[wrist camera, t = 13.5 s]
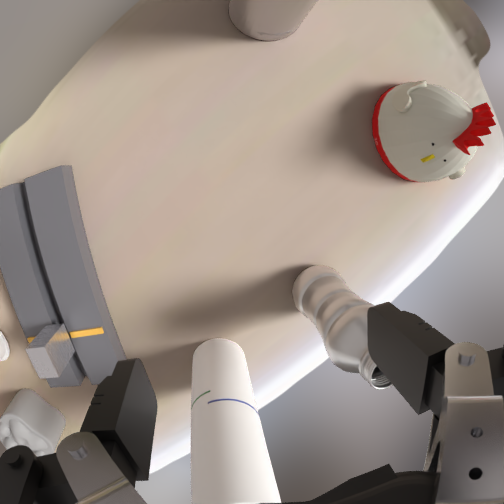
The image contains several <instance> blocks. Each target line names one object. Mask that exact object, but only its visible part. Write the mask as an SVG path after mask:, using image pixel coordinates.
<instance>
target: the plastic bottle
mask: <svg viewBox="0 0 504 504" xmlns="http://www.w3.org/2000/svg"><path fill="white" fill-rule="evenodd" d="M292 295H293V299H294V304H295V306H296V308H297V309H298V310H299V311H300V312H301V313H302V314H303V315H304V316H306V317H307V318H309V319H310V320H311V321H312V322H313V324H314V325H315V326H316V328H317V329H318V331H319V333H320V335H321V337H322V340H323V343H324V345H325V348H326V351H327V353H328V356H329V358H330V360H331V361H332V362H333V364H334V365H336V366H337V367H339V368H340V369H342V370H343V371H346V372H350V373H360V375H361V376H362V377H363V378H364V379H365V380H366V381H368V383H369V384H370V385H371V386H372V387H373V388H375V389H380V390H381V389H386V388H389V387H391V386H393V384H392V383H391V382H390V381H389V379H388V378H387V377H386V376H385V375H384V373H383V372H382V371H381V370H380V369H379V368H378V366H377V365H376V364H375V363H374V362H373V360H372V359H371V357H370V354H369V351H368V336H367V312H368V309H369V308H370V307H373V306H374V305H373V304H371V303H369V302H367V301H365V300H363V299H362V298H360V297H359V296H358V295H356V294H355V293H353V292H352V290H351V289H350V288H349V287H348V286H347V284H346V282H345V280H344V279H343V277H342V276H341V275H340V273H339V272H337V271H336V270H335V269H333V268H330V267H327V266H324V265H315V266H312V267H309V268H307V269H305V270H304V271H303V272H301V273H300V274H299V276H298V277H297V278H296V280H295V282H294V284H293V289H292Z"/></svg>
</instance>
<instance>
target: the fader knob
mask: <svg viewBox="0 0 504 504" xmlns="http://www.w3.org/2000/svg"><path fill="white" fill-rule="evenodd" d="M25 350H26V352H27V354H28V356H29V358H30V360H31V362H32V364H33V366H34V368H35V370H36V372H37V374H38V376H39V378H56V377H60V375H61V373H62V372H63V370H64V368H65V367H66V365H67V363H68V362H69V360H70V359H71V357H72V355H73V354H74V352H75V349H74V347H73V344H72V342H71V340H70V335H69V333H68V330H67V328H66V325H65V323H61V324H55V325H48V326H45V327H44V328H43V329H42V330H41V331H40V333H39V334H38V335H37V336H36V337H35V338H34V339H33V341H32V342H31V343H30V344H29V345H28V346H27V347H26V349H25Z"/></svg>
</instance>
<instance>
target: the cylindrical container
mask: <svg viewBox="0 0 504 504" xmlns="http://www.w3.org/2000/svg"><path fill="white" fill-rule="evenodd" d="M191 497H192V498H191V499H192V500H191V501H192V504H259V503H281V500H280V496H279V492H278V488H277V485H276V481H275V477H274V473H273V469H272V466H271V462H270V458H269V454H268V450H267V446H266V442H265V438H264V434H263V430H262V426H261V422H260V418H259V414H258V410H257V406H256V401H255V397H254V393H253V389H252V385H251V380H250V376H249V372H248V368H247V363H246V359H245V355H244V352H243V350H242V349H241V347H240V346H239V345H238V344H237V343H235V342H233V341H231V340H228V339H224V338H214V339H210V340H207V341H205V342H203V343H202V344H200V345H199V346H198V347H197V349H196V350H195V352H194V354H193V362H192V393H191Z"/></svg>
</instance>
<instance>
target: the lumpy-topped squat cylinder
mask: <svg viewBox="0 0 504 504" xmlns="http://www.w3.org/2000/svg"><path fill="white" fill-rule="evenodd" d="M65 425H66V420H65V417H64V416H63V414H62V413H61V412H60V411H59V410H58V409H56V408H55V407H53V406H51V405H50V404H48V403H47V402H46V401H45V400H44V399H43V398H42V397H41V396H39V395H38V394H37V393H36V392H35V391H33V390H31V389H26V388H25V389H21V390H20V391H19V392H18V393H17V394H16V395H15V397H14V398H13V399H12V401H11V402H10V404H9V405H8V407H7V408H6V410H5V412H4V413H3V415H2V416H1V418H0V440H1V442H2V443H3V445H4V446H5V448H6V449H7V450H8V449H9V448H11V447H14V446H17V445H25V446H27V447H29V448H30V449H31V450H32V451H33V452H34V454H35V455H36V456H37V457H38V456H43V455H48V454H52V453H54V451H55V448H56V446H57V444H58V441H59V439H60V437H61V434H62V432H63V430H64V427H65Z"/></svg>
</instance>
